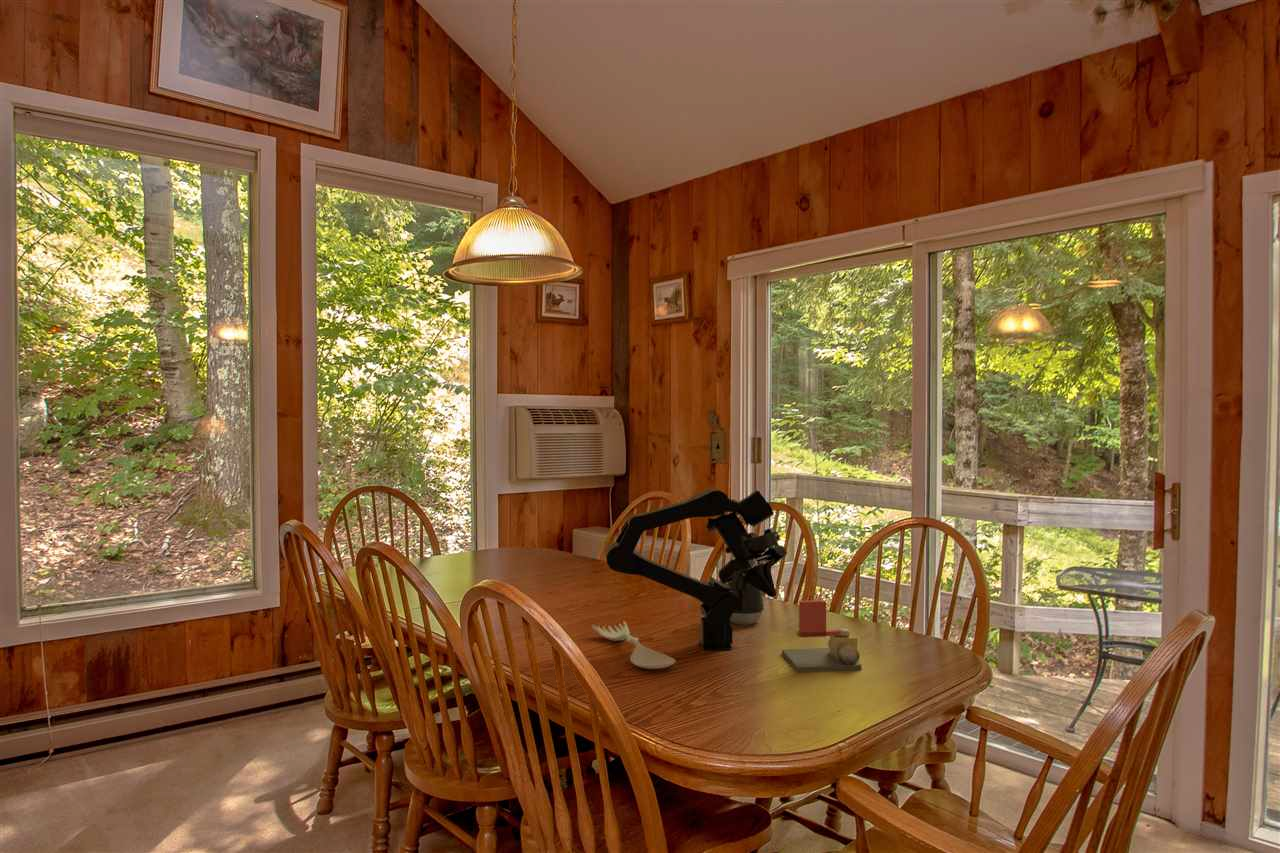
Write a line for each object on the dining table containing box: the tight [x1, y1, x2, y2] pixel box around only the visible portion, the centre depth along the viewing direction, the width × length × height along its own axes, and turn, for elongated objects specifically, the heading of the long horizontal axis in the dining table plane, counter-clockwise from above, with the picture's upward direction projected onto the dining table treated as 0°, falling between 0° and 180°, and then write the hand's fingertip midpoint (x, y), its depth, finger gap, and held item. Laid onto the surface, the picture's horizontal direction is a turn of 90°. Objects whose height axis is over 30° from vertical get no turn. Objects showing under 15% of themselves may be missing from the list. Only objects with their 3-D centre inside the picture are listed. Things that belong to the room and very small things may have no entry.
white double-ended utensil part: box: [591, 620, 676, 670], centre depth 175 cm, size 9×32×4 cm, turn 23°
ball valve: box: [827, 631, 861, 665], centre depth 166 cm, size 4×9×5 cm, turn 6°
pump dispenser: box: [727, 572, 765, 626], centre depth 199 cm, size 10×10×15 cm
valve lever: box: [796, 599, 850, 638], centre depth 166 cm, size 11×2×8 cm, turn 96°
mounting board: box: [781, 647, 862, 673], centre depth 168 cm, size 14×12×1 cm
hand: (774, 596), depth 171 cm, fingers closed
